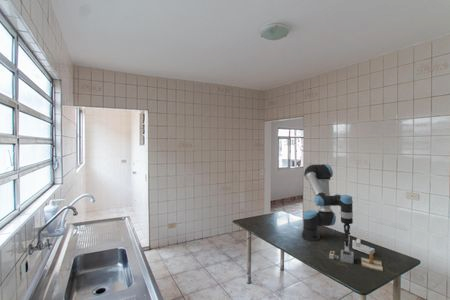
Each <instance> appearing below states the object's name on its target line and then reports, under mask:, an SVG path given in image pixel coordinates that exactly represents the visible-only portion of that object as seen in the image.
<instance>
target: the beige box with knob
mask: <svg viewBox="0 0 450 300" xmlns="http://www.w3.org/2000/svg"><path fill="white" fill-rule="evenodd" d="M335 253H336V251H334V250H333V251H332V250H330V251H329V254H328V257H329V259H331V260H334V259H335V258H334V255H336V254H335Z"/></svg>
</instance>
